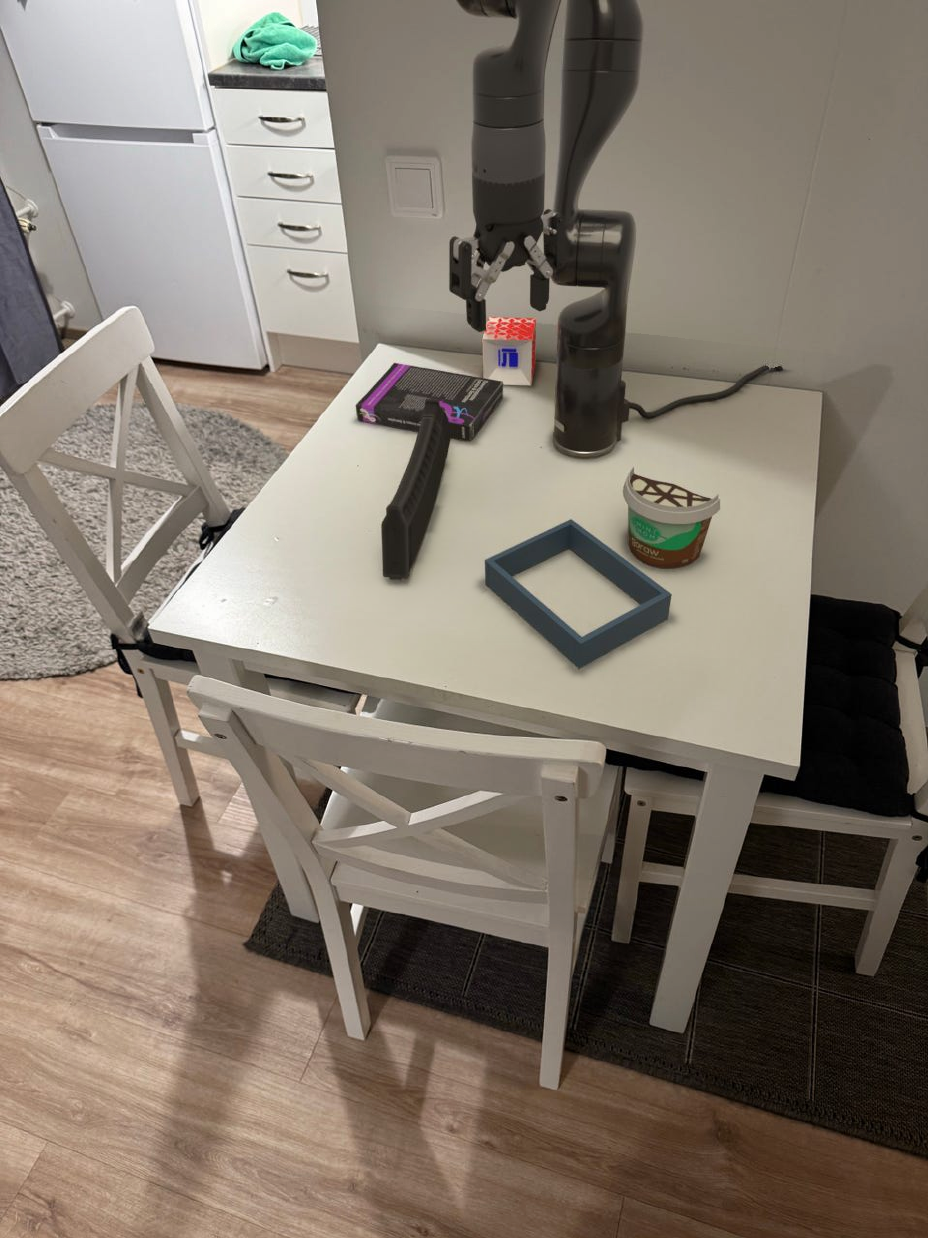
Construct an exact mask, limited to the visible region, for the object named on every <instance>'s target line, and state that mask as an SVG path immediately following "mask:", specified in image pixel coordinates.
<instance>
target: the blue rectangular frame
mask: <svg viewBox="0 0 928 1238" xmlns="http://www.w3.org/2000/svg"><path fill="white" fill-rule="evenodd" d="M567 550H570V551H572V552H573V553H574V554H575V555H576V556H577V557H579V558H580V559H582V560H583V561H584V562H585V563H586V564H588V565H589V566H590V567H592V568H593V569H594V570H595V571H597V572H598V573H599V574H601V575H602V576H603V577H604V578H606V579H607V580H608V581H610V582H611V583H613V584H614V585H615V586H616V587H617V588H618V589H620V590H621V591H622V592H624V593H625V594H627V595H628V596H629V597H630V598H632V599H633V600H634V601H635V602H636V603H638V604H639V605H638V606H636V607H634V608H632V609H631V610H628V611H626V612H625V613H623V614H622V615H619V616H618V617H616V618H614V619H612V620H610V621H608V622H607V623H604V624H603V625H601V626H599V627H597V628H595V629H594V630H592V631H590V632H588V633H586V634H584V635H580V634H579V633H578V632H577V631H576V630H574V629H573V628H572V627H571V626H570V625H569V624H567V622H565V621H564V620H563V619H562V618H561V617H560V616H558V615H557V614H556V613H555V612H554V611H553V610H551V608H549V607H548V606H547V605H545V604H544V602H542V600H540V599H539V598H537V597H536V596H535V595H534V594H533V593H532V592H530V590H528V589H527V588H526V587H525V586H524V585H522V583H520V582H519V581H518V580H517V579H515V578H514V576H516V575H518V574H521V573H522V572H524V571H526V570H528V569H530V568H532V567H535V566H537V565H538V564H540V563H542V562H544V561H547V560H549V559H551V558H554V557H555V556H557V555H559V554H562V553H563V552H565V551H567ZM484 581H485V582H484V583H485V586H486V587H487V588H489V590H490V591H492V592H493V593H494V594H495V595H496V596H497V597H498V598H499V599H501V601H503V602H504V603H505V604H506V605H507V606H509V608H511V609H512V610H513V611H514V612H515V613H516V614H517V615H519V617H521V618H522V620H523V621H525V622H526V623H527V624H529V625H530V627H532V628H533V629H534V630H535V631H536V632H537V633H538V634H540V635H541V636H542V637H543V638H544V639H545V640H546V641H547V642H549V644H551V645H552V646H553V647H554V648H555V649H556V650H557V651H559V652H560V653H561V654H562V655H563V656H564V657H565V658H567V660H569V662H571V663H572V664H573V665H574V666H575V667H576V668H577V669H582V668H583V667H586V666H587V665H589V664H590V663H593V662H594V661H596V660H598V659H599V658H601V657H604V656H605V655H607V654H608V653H610V652H612V651H614V650H615V649H617V648H619V647H621V646H623V645H624V644H626V643H628V642H630V641H632V640H634V639H635V638H637V637H638V636H640V635H642V634H644V633H647V631H649V630H652V629H653V628H654V627H656V626H658V625H661V624H662V623H664V622H665V621H668V620H669V614H670V609H671V601H672V596H673V595H672V593H671V592H670V591H668V590H667V589H666V588H664V587H663V586H662V585H660V584H659V583H658V582H656V581H655V580H653V578H651V577H650V576H648V575H647V574H645V573H644V572H643V571H642V570H640V569H639V568H638V567H636V566H635V565H634V564H632V563H631V562H629V560H628V559H626V558H624V557H623V556H622V555H620V554H619V553H618V552H616V551H615V550H614V549H612V548H611V547H609V546H608V545H607V544H605V543H604V542H603V541H602V540H600V539H599V538H597V537H596V536H595V535H593V534H592V533H591V532H589V531H588V530H587V529H585V528H584V527H583V526H582V525H580V524H578V523H577V522H575V520H573V519H571V518H570V519H568V520H566V521H564V522H561V523H560V524H557V525H555V526H553V527H551V528H549V529H547V530H545V531H543V532H541V533H539V534H536V535H534V536H532V537H530V538H528V539H526V540H523V541H522V542H520V543H518V544H516V545H514V546H511V547H509V548H507V549H505V550H503V551H501V552H498V553H496V554H494V555H492V556H490V557H488V558H485V559H484Z"/></svg>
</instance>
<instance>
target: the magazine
mask: <svg viewBox="0 0 928 1238" xmlns="http://www.w3.org/2000/svg"><path fill="white" fill-rule="evenodd" d="M451 440H452V438H451V434H450V427H449V420H448V417H447V415H446V413H445V410H444V409H442V408H441V407H440V404H439V400H437V399H426V400H425V408H424V412H423V415H422V421H421V424H420V427H419V431H418V432H417V435H416V438H415V442H414V445H413V449H412V451H411V453H410V457H409V460H408V463H407V465H406V467H405V470H404V473H403V476H402V477H401V480H400V482H399V485H398V487H397V490H396V492H395V494H394V496H393V498H392V499H391V502H390V503H389V504H388V505H387V506H386V508H385V511H386V512H385V514H386V515H385V516H384V518H383V520H382V521H381V525H380V527H381V528H380V529H381V533H380V535H381V555H382V556H381V558H382V559H381V560H382V561H381V563H382V577H383V578H385V579H386V578H387V579H388V578H389V580H397V581H402V580H409V577H410V573H411V570H412V568H413V567H414V566H413V565H414V563H415V561H416V558H417V556H418V553H419V551H420V548H421V546H422V543H423V541H424V538H425V535H426V532H427V530H428V527H429V523H430V521H431V519H432V518H431V517H432V516H433V515H432V514H433V512H434V508H435V505H436V501H437V498H438V494H439V490H440V487H441V483H442V478H443V474H444V471H445V466H446V462H447V458H448V454H449V449H450V444H451Z"/></svg>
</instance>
